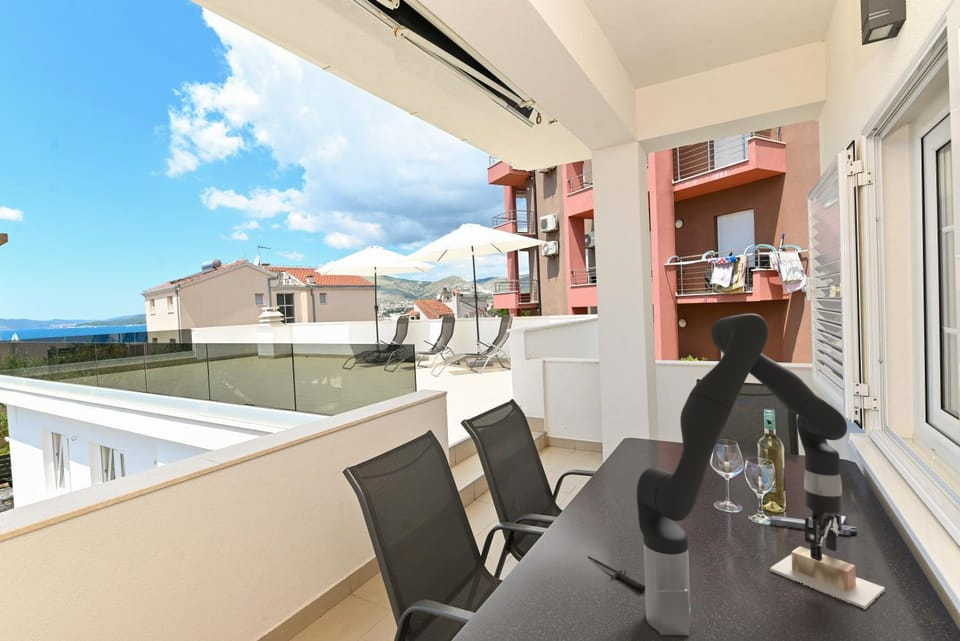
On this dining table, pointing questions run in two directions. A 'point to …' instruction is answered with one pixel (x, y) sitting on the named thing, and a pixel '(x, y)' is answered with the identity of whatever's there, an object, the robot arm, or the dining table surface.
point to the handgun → (801, 524)
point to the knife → (617, 574)
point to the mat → (856, 595)
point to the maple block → (824, 569)
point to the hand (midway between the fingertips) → (824, 554)
